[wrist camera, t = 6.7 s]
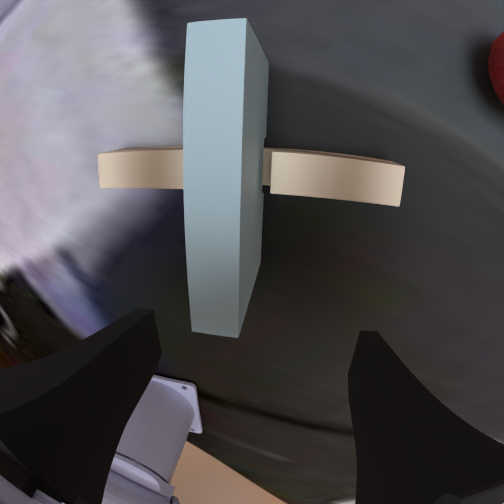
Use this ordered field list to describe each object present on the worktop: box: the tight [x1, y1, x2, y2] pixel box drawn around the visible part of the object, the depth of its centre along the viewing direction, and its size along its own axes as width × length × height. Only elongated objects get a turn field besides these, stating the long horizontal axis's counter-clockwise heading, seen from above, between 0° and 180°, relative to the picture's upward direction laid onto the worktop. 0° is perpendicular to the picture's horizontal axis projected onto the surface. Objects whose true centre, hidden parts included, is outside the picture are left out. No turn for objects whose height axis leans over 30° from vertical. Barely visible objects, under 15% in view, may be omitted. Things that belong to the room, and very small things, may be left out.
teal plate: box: [183, 18, 269, 338], centre depth 14 cm, size 2×12×8 cm, turn 178°
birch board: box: [98, 146, 405, 207], centre depth 16 cm, size 16×2×3 cm, turn 88°
